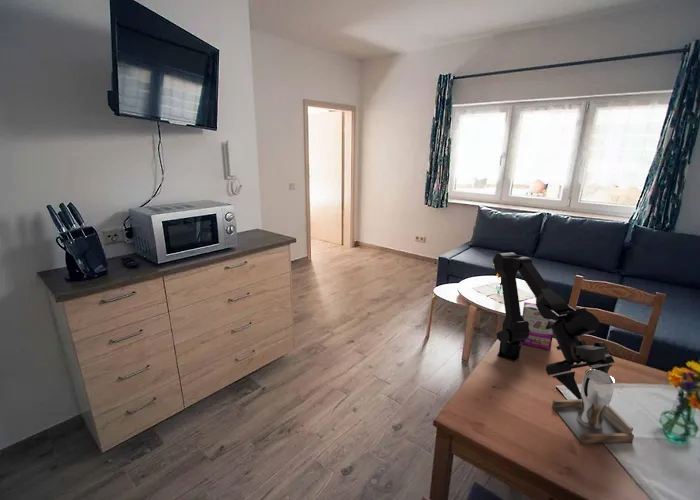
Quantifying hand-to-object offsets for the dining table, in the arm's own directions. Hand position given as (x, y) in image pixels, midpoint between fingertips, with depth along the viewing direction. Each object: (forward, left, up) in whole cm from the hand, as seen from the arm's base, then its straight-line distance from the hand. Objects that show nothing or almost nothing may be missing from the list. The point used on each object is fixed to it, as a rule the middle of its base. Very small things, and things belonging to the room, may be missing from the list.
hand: (594, 396), depth 93 cm
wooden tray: (0, 0, -9) cm, 9 cm away
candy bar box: (-21, +35, -9) cm, 41 cm away
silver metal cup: (0, 0, -9) cm, 9 cm away
